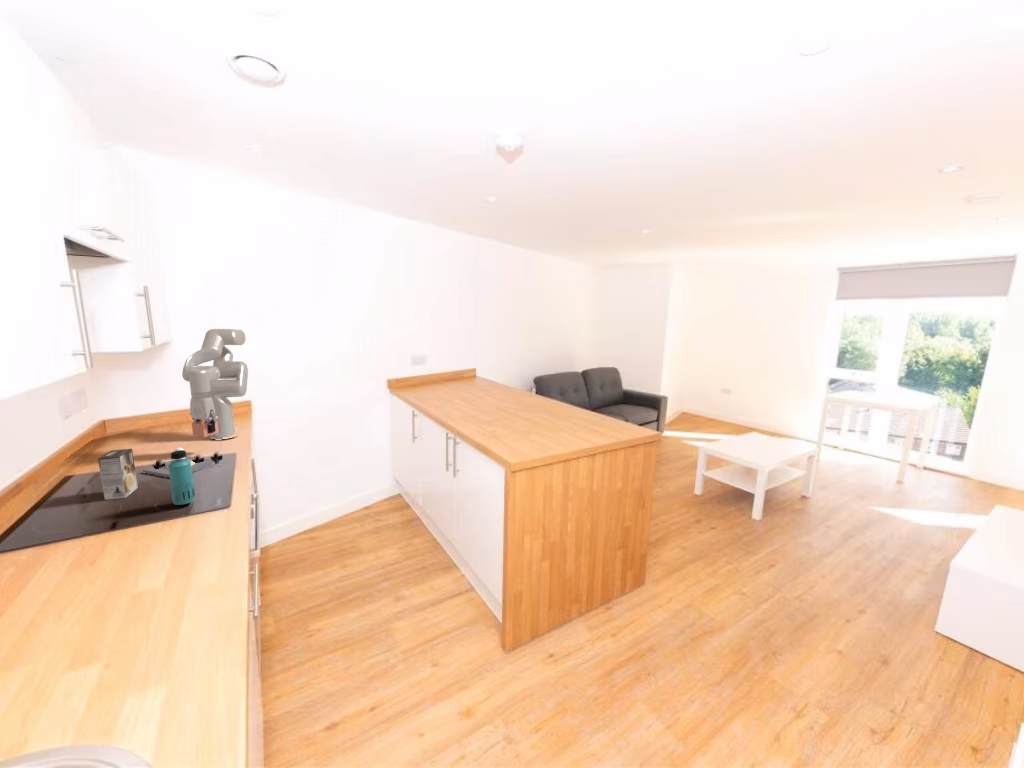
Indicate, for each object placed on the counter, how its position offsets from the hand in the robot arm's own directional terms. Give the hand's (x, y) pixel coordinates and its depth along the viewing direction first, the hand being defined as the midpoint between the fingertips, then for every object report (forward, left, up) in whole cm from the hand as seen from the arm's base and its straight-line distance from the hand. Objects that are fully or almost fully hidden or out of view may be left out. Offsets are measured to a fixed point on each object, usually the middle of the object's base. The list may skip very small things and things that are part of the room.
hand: (205, 431), depth 194 cm
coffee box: (+12, -43, -11) cm, 46 cm away
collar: (0, 0, -1) cm, 1 cm away
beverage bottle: (+42, -42, -11) cm, 61 cm away
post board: (+7, -18, -11) cm, 22 cm away
